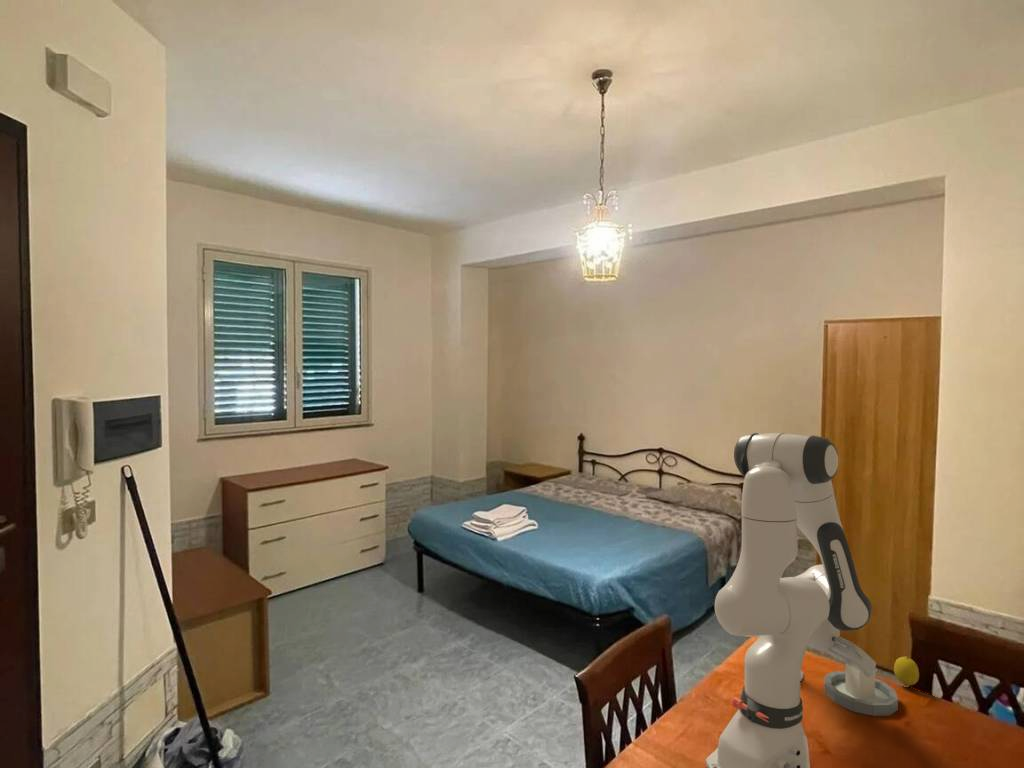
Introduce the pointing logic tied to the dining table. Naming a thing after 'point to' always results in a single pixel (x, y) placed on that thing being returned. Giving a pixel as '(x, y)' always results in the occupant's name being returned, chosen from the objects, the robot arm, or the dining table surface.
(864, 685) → the block
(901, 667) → the lemon
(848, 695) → the dish
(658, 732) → the dining table surface
